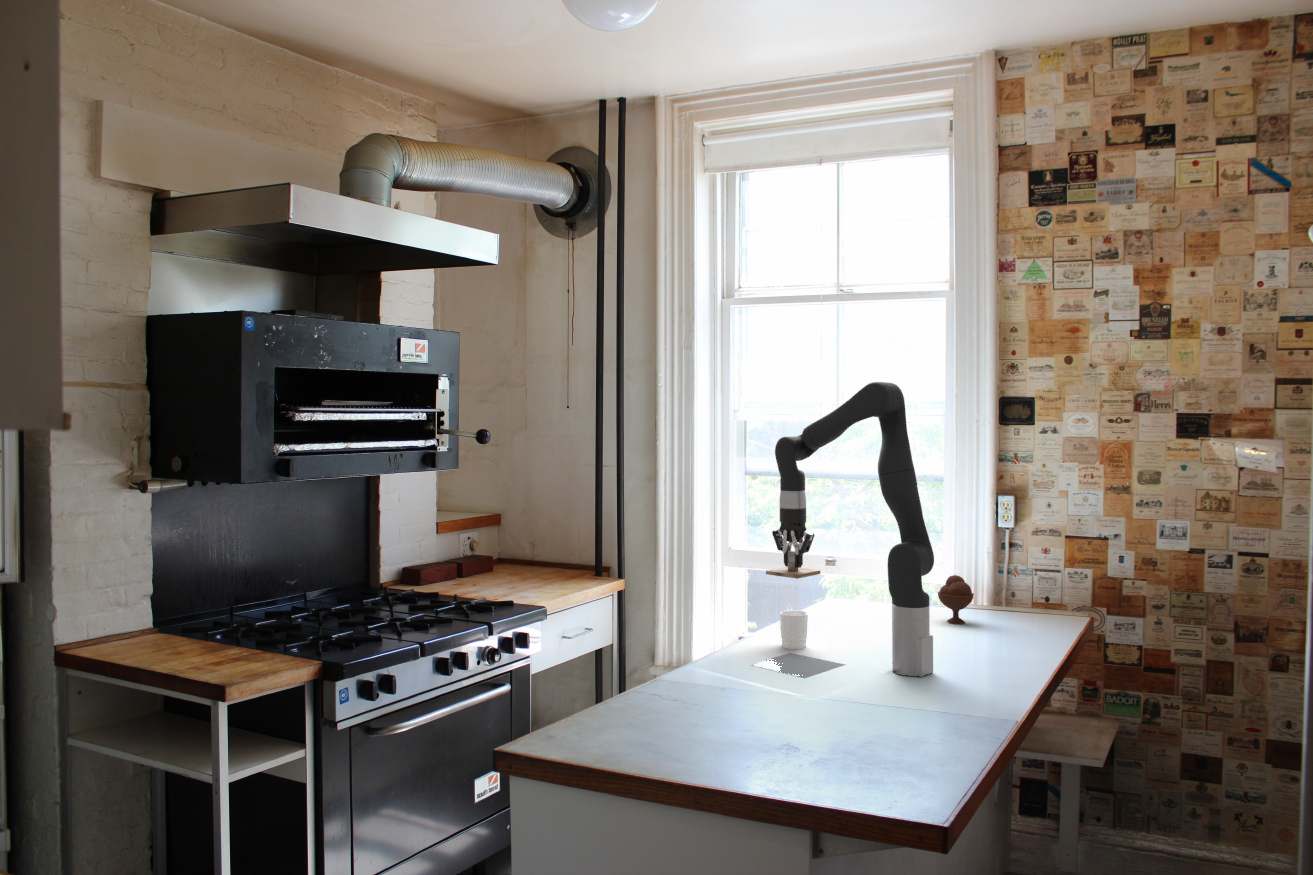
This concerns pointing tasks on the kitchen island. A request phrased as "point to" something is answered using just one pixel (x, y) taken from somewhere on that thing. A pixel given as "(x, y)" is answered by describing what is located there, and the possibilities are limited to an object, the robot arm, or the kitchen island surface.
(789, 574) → the lid
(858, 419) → the robot arm
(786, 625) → the white cup
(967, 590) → the ice cream bowl
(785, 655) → the mat
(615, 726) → the kitchen island surface
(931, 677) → the kitchen island surface
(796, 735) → the kitchen island surface
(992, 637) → the kitchen island surface
